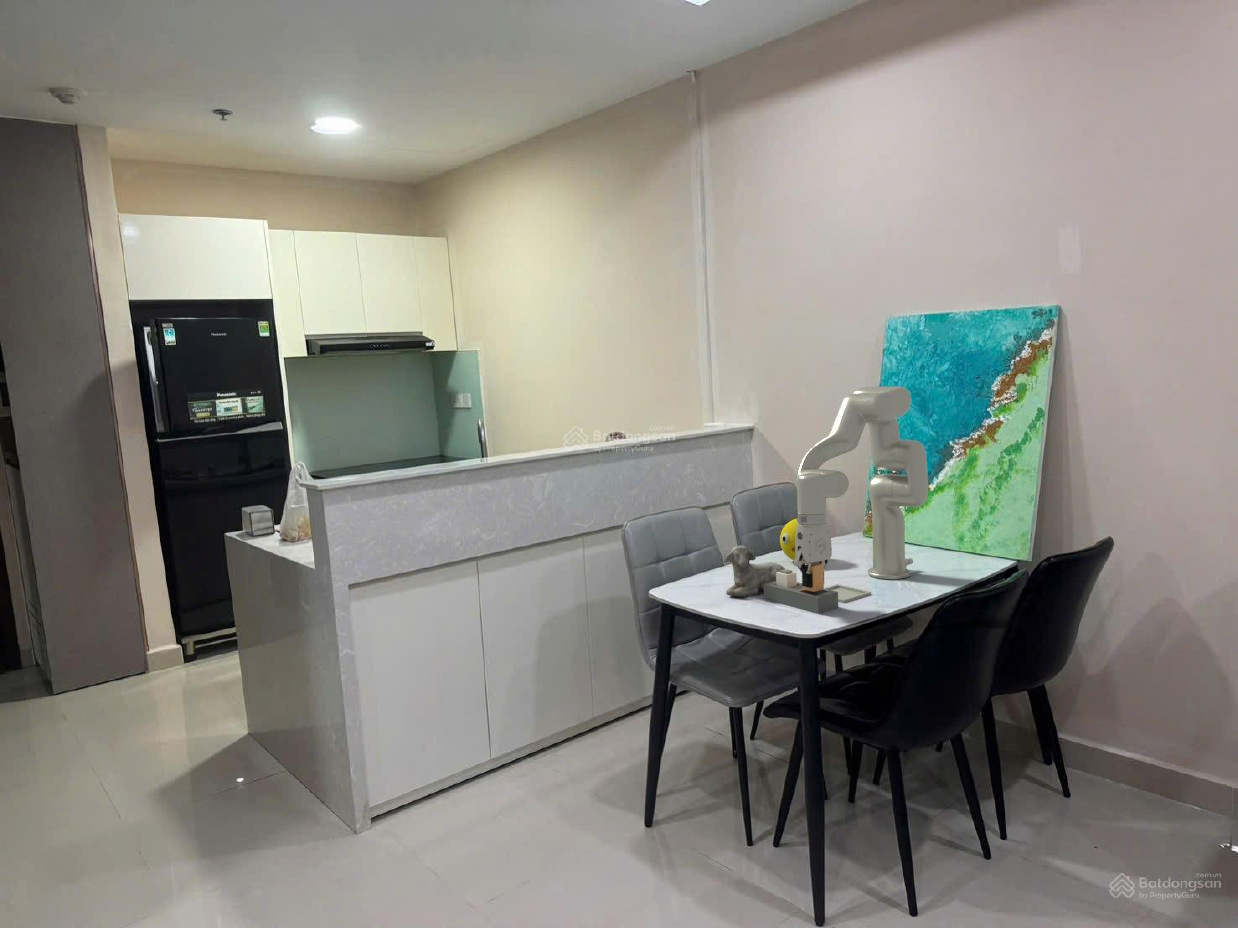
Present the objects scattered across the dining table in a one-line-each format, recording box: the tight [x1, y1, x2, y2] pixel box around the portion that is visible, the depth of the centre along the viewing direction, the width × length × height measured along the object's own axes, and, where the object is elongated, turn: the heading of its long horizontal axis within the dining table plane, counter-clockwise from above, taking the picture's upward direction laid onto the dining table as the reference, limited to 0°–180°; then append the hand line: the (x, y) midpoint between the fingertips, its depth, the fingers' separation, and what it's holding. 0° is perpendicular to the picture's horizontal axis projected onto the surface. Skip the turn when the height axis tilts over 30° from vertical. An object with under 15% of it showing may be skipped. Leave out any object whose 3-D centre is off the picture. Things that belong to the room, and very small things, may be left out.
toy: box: [779, 518, 798, 561], centre depth 275 cm, size 15×16×15 cm
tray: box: [824, 583, 872, 604], centre depth 235 cm, size 12×12×1 cm
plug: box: [803, 562, 825, 592], centre depth 223 cm, size 4×4×8 cm
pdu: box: [763, 568, 839, 615], centre depth 228 cm, size 8×20×9 cm, turn 35°
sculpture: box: [723, 545, 786, 598], centre depth 242 cm, size 11×21×15 cm, turn 125°
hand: (813, 584), depth 223 cm, fingers closed on plug, 4 cm apart
